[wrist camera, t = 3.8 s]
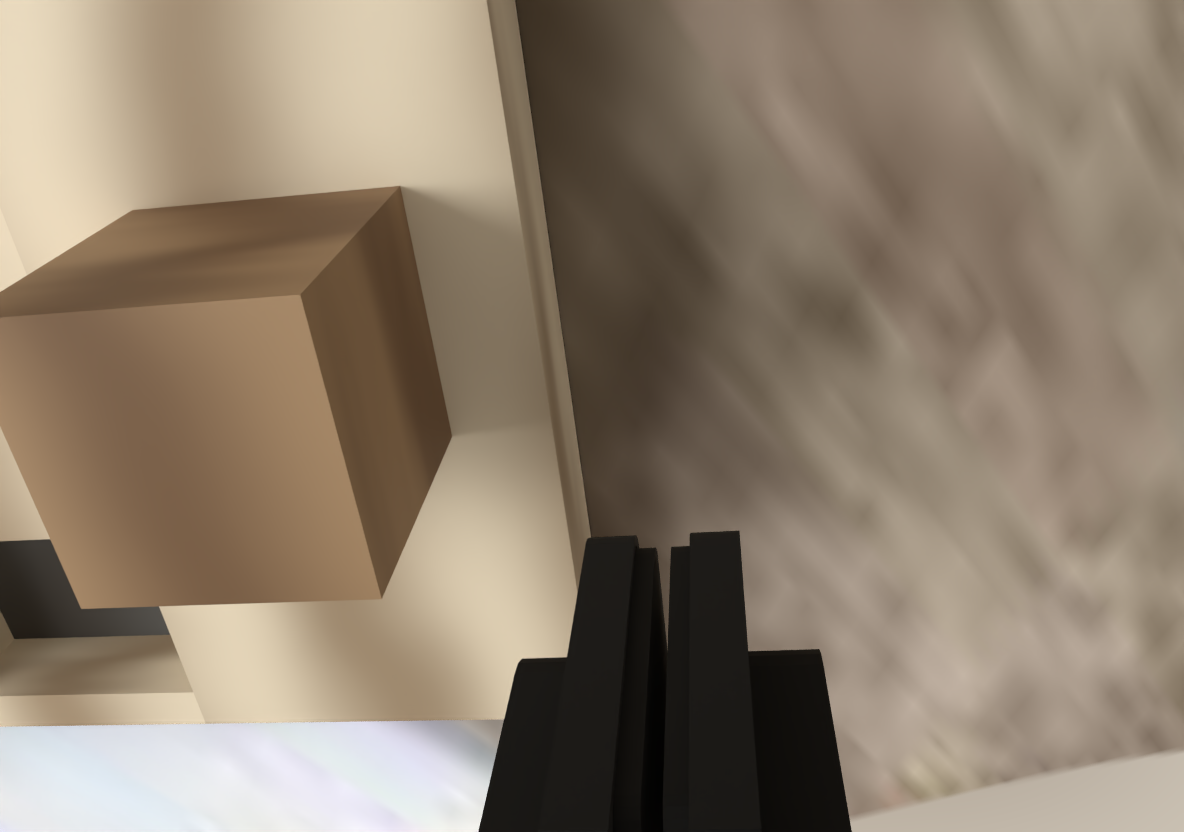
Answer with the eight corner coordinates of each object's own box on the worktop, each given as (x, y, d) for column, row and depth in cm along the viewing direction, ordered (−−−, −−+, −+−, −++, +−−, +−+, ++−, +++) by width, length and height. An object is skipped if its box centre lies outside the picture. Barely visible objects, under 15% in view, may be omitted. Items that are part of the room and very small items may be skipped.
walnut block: (400, 186, 18) (300, 294, 13) (451, 436, 20) (382, 599, 16) (132, 210, 18) (-48, 320, 14) (212, 450, 21) (81, 608, 16)
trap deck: (467, -340, 16) (429, -370, 14) (606, 643, 25) (596, 717, 23) (-720, -146, 19) (-902, -146, 17) (-208, 664, 29) (-283, 730, 26)
